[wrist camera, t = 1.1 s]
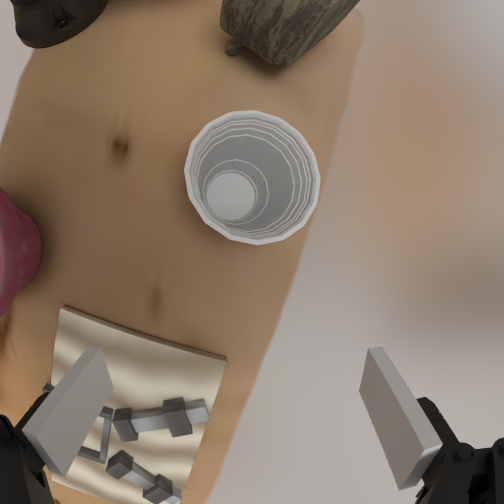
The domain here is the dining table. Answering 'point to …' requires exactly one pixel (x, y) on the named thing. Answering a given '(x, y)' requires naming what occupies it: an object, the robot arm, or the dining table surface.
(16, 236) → the plant pot
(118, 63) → the dining table surface
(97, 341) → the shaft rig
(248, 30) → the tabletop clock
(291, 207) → the plastic cup
